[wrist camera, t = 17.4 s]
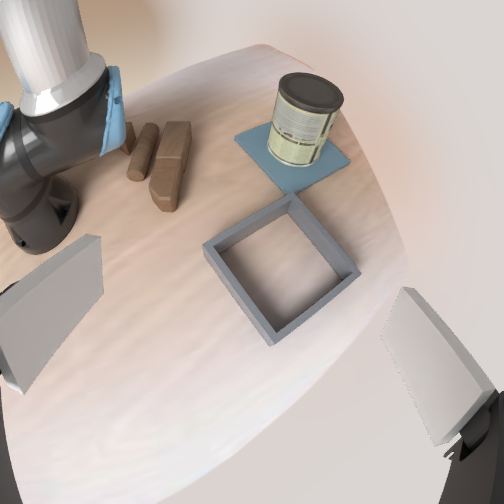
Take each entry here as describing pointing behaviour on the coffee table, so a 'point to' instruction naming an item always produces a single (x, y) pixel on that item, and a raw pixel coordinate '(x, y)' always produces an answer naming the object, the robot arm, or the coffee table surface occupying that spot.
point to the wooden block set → (160, 159)
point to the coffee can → (302, 118)
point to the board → (283, 174)
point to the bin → (315, 235)
